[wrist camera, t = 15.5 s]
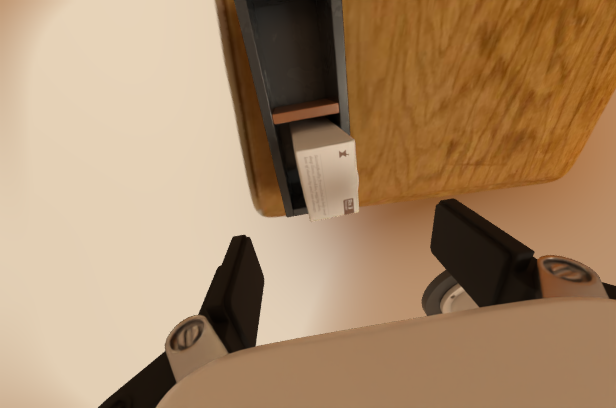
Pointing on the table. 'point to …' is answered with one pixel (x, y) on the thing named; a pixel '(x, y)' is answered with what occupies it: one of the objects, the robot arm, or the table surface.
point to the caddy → (295, 75)
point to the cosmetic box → (325, 167)
